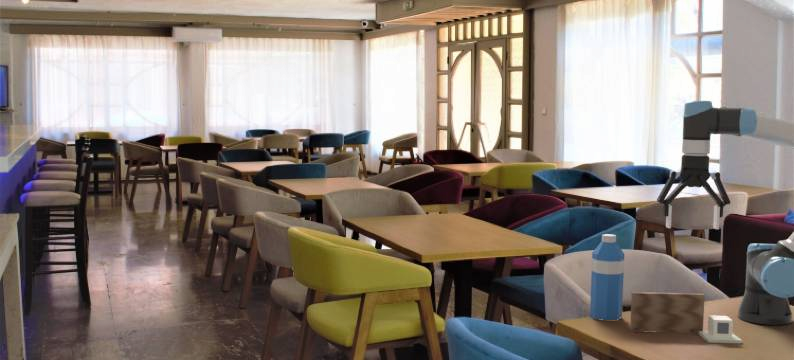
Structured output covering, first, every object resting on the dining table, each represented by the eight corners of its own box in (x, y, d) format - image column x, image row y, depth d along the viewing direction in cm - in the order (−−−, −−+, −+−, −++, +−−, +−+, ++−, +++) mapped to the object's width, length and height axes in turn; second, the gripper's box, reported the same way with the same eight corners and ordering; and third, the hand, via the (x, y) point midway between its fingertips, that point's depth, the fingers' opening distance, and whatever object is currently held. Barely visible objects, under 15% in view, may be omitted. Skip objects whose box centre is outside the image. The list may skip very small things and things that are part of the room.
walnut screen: (699, 330, 250) (701, 292, 249) (704, 334, 246) (706, 295, 245) (629, 328, 251) (630, 291, 250) (632, 332, 247) (634, 294, 246)
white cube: (726, 333, 244) (726, 315, 244) (731, 338, 239) (732, 320, 239) (707, 332, 244) (708, 315, 244) (713, 337, 239) (714, 320, 239)
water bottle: (622, 322, 258) (626, 238, 256) (590, 319, 260) (593, 236, 258) (621, 314, 267) (624, 233, 265) (589, 312, 269) (592, 232, 267)
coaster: (730, 334, 246) (730, 331, 246) (741, 343, 237) (742, 340, 237) (698, 333, 247) (698, 330, 247) (708, 342, 238) (708, 339, 238)
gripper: (735, 154, 254) (731, 227, 256) (648, 153, 254) (645, 225, 257) (744, 156, 246) (740, 230, 248) (655, 154, 247) (651, 229, 249)
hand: (692, 228), depth 252 cm, fingers open, 13 cm apart
